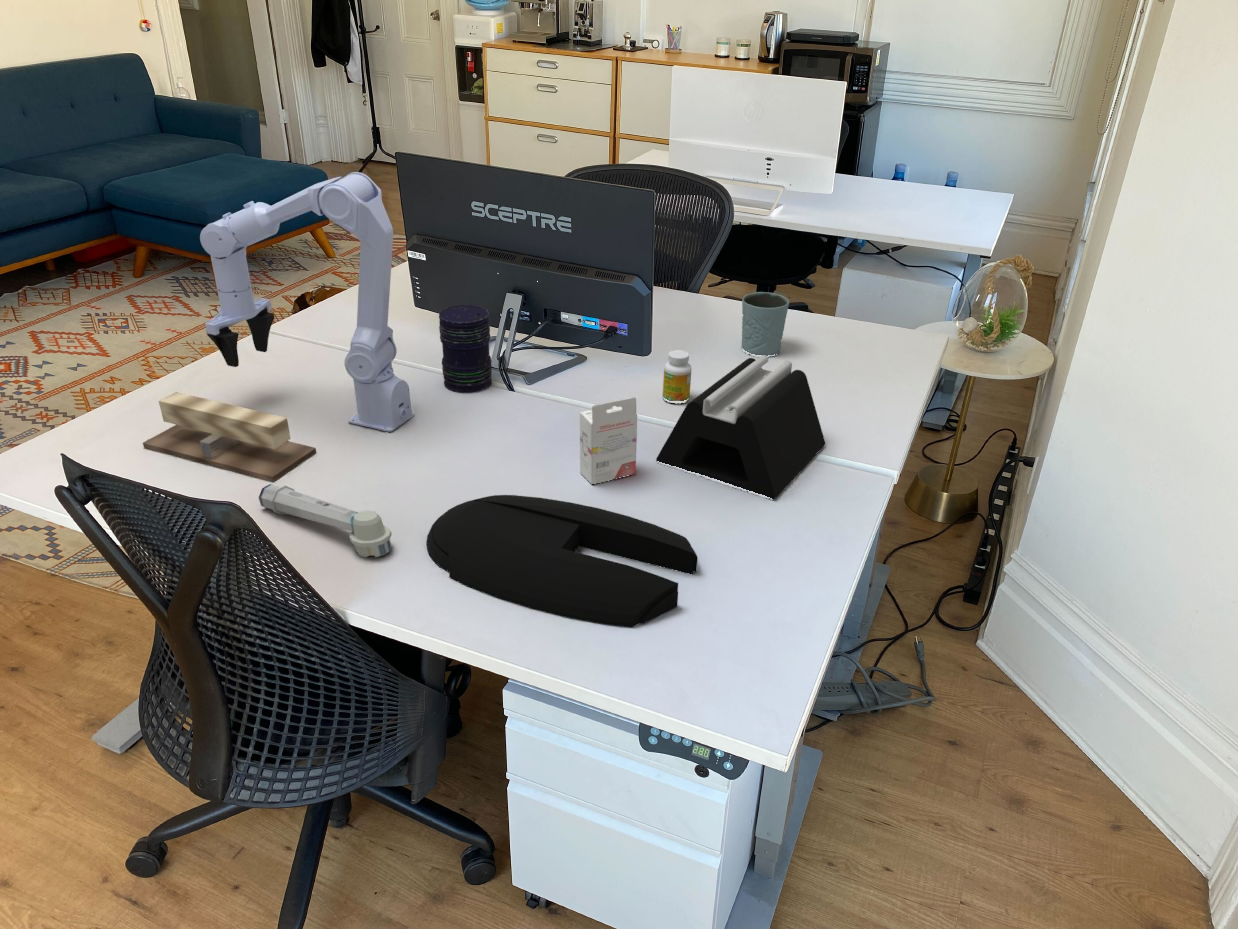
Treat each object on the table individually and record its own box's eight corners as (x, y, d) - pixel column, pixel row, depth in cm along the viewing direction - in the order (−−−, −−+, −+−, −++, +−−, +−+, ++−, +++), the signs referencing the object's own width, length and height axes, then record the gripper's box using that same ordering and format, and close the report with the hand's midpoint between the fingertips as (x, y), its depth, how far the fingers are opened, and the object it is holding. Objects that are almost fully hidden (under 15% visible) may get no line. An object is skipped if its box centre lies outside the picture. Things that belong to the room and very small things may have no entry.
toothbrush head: (279, 477, 146) (392, 505, 133) (289, 513, 149) (401, 545, 136) (251, 491, 142) (366, 521, 129) (263, 528, 145) (376, 562, 132)
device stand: (824, 448, 167) (836, 372, 160) (774, 502, 151) (785, 420, 143) (714, 416, 177) (720, 344, 170) (656, 464, 161) (660, 385, 153)
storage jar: (436, 391, 183) (430, 320, 176) (451, 371, 192) (447, 303, 184) (484, 395, 182) (481, 324, 175) (498, 375, 191) (495, 307, 183)
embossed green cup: (784, 344, 209) (790, 294, 204) (781, 361, 201) (787, 309, 195) (740, 340, 211) (745, 289, 205) (735, 356, 203) (739, 304, 197)
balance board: (316, 452, 160) (315, 447, 160) (273, 482, 151) (272, 476, 151) (191, 421, 169) (190, 417, 169) (143, 447, 160) (142, 442, 160)
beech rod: (290, 438, 156) (287, 417, 154) (274, 449, 153) (270, 427, 151) (181, 412, 164) (176, 391, 162) (163, 421, 160) (158, 400, 158)
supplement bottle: (658, 402, 182) (660, 356, 177) (667, 391, 186) (670, 346, 181) (684, 407, 180) (687, 361, 175) (692, 396, 184) (696, 351, 180)
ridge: (253, 434, 163) (250, 419, 162) (212, 459, 155) (209, 443, 154) (244, 432, 164) (241, 417, 163) (203, 456, 156) (199, 441, 155)
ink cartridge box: (622, 462, 160) (625, 385, 153) (636, 475, 156) (639, 397, 149) (578, 472, 157) (578, 394, 149) (591, 486, 153) (592, 407, 146)
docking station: (476, 489, 152) (474, 463, 149) (711, 546, 139) (714, 518, 137) (390, 572, 132) (387, 543, 129) (657, 646, 119) (659, 616, 117)
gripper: (244, 272, 171) (257, 341, 178) (186, 296, 159) (201, 368, 166) (275, 278, 169) (286, 347, 175) (218, 302, 157) (232, 375, 164)
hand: (247, 358), depth 170 cm, fingers open, 7 cm apart
